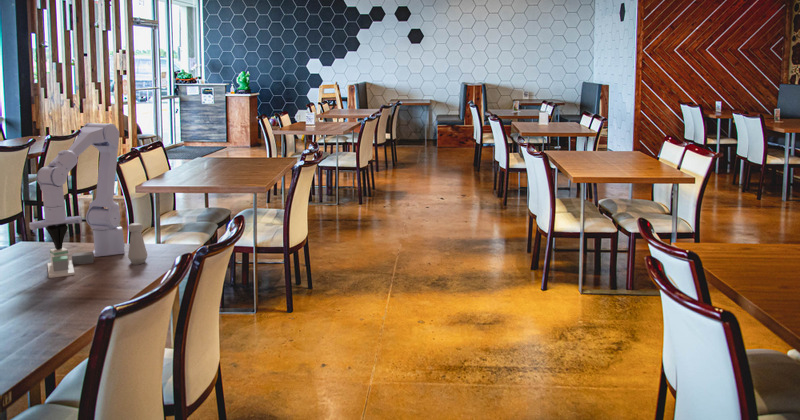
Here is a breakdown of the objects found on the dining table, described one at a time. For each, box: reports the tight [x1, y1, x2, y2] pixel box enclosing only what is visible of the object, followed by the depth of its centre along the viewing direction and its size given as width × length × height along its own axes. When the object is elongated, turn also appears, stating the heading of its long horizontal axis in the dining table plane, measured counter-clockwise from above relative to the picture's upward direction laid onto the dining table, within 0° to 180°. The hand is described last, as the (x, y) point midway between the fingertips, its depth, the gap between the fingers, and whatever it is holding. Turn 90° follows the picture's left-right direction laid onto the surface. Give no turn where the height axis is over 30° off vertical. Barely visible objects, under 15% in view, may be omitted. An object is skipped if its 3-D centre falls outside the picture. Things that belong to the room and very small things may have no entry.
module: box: [49, 246, 70, 266], centre depth 209 cm, size 4×4×5 cm
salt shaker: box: [127, 222, 148, 265], centre depth 217 cm, size 6×6×13 cm
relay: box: [71, 251, 95, 266], centre depth 219 cm, size 6×4×3 cm, turn 110°
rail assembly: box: [47, 256, 75, 279], centre depth 210 cm, size 7×15×5 cm, turn 28°
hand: (58, 248), depth 209 cm, fingers closed
